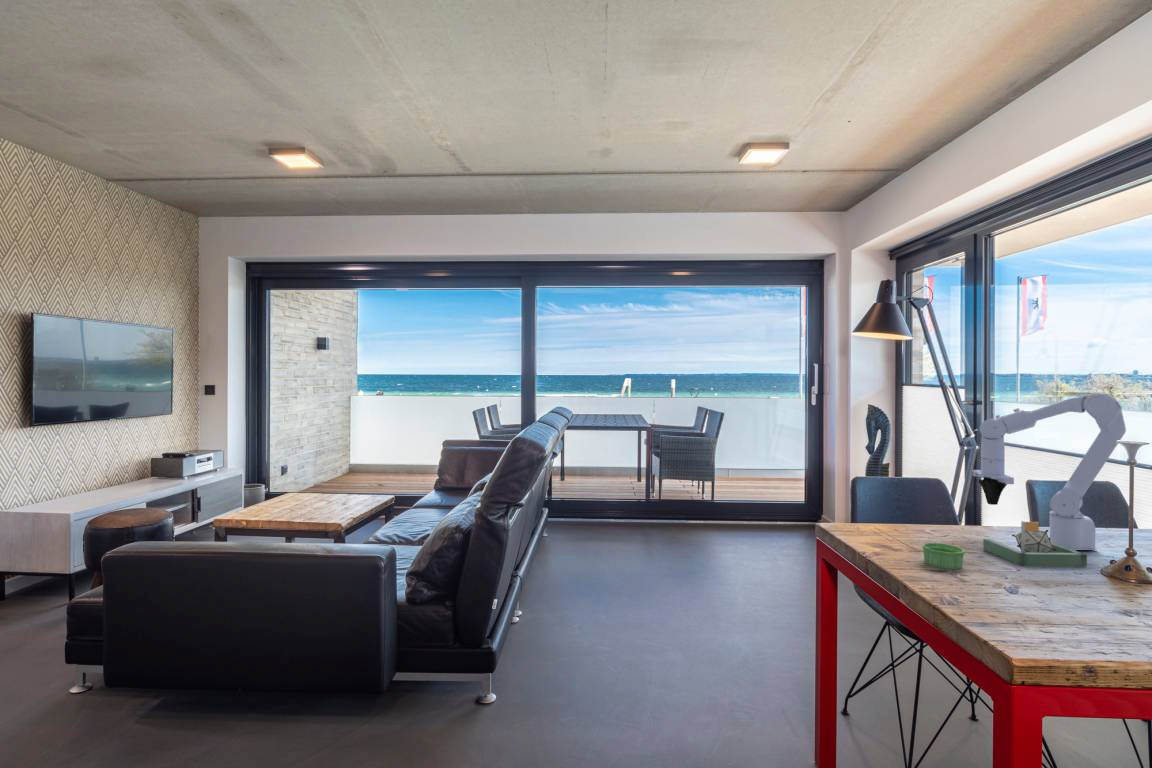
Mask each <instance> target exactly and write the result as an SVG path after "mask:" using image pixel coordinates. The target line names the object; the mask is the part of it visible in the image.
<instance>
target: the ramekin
mask: <svg viewBox="0 0 1152 768" xmlns="http://www.w3.org/2000/svg"><path fill="white" fill-rule="evenodd" d="M921 548H922V549H923V561H924V562H925V564H926V565H929V566H931V567H935V568H939V569H943V568H944V570H959V568H960V569H962V567H963V562H964V561H963V560H964V555H965V549H964V548H962V547H959V546H957V545H953V544H949V543H948V544H947V543H942V542H924V543H922V547H921Z"/></svg>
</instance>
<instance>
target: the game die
mask: <svg viewBox="0 0 1152 768" xmlns="http://www.w3.org/2000/svg"><path fill="white" fill-rule="evenodd" d="M1048 532H1049V529H1046V530H1041V529H1039V531H1025V552H1032V553H1047V552H1049V551H1051V550H1055V551H1057V549H1054V548H1053V546H1052V544H1051V542H1050V539H1051V538H1050V536H1049V535H1048ZM1011 536H1012V537H1014V538H1015V539H1016V542H1017V546H1016V547H1017V548H1019V549H1020V550H1021V532H1019V533H1018V534H1011Z"/></svg>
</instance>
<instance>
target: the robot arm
mask: <svg viewBox="0 0 1152 768" xmlns="http://www.w3.org/2000/svg"><path fill="white" fill-rule="evenodd" d="M1067 413H1078V414H1083V413H1087V414H1088V415H1089V416H1090V417H1092V418H1093V419H1094V420H1095V423H1096V425H1097V426H1098V429H1099V430H1100V431H1099V433H1098V435H1097V436H1095V437H1096V438H1095V439H1094V441H1093V442H1092V443H1091V445H1090V447H1089V448H1088V450H1087V451H1086V453H1085V454H1084V456H1083V458H1082V459H1081V461H1080V462H1079V463H1078V465H1077V467H1076V468H1075V470H1074V471H1073V473H1072V474H1071V476H1070V477H1069V479H1068V480H1067V481H1066V482H1065V485H1064V486H1063V488H1062V489H1060V490H1058V491H1057V492H1056V493H1054V495H1052V497H1051V498H1050V500H1049V507H1050V508H1051V510H1050V511H1049V538H1051V539H1050V542H1052V543H1054V544H1057V545H1060V546H1063V547H1066V548H1069V549H1072V550H1098V548H1096V525H1095V522H1094V521H1093V519H1092V518H1091V517H1089V516H1087V515H1084V514H1083V513H1082V512H1081V511H1080V509H1081V508H1082V507H1083V505H1084V500H1083V498H1084V495H1086V492H1087V491H1088V489H1089V488H1090V487H1091V486H1092V483H1093V482H1094V481H1095V479H1096V477H1097V476H1098V474H1099V473H1100V472H1101V470H1102V468H1103V467H1104V465H1105V464H1106V462H1107V461H1108V460H1109V458H1110V456H1112V453H1113V452H1114V451H1115V449H1116V447H1117V445H1118V444H1119V443H1116V441H1117V440H1120V441H1121V440H1122V438H1123V437H1124V435H1125V434H1126V432H1127V428H1126V424H1125V423H1126V422H1125V419H1124V416H1123V415H1124V414H1123V410H1122V406H1121V405H1120V403H1119V402H1118V400H1117V398H1115V396H1113V395H1112V394H1110V393H1107V392H1093V393H1091V394H1086V395H1081V396H1076V397H1069V398H1067V399H1063V400H1060V401H1057V402H1055V403H1051V404H1049V405H1048V404H1047V405H1046V406H1043V407H1040V408H1037V409H1034V410H1029V409H1027V408H1021V409H1020V408H1015V409H1013V411H1012V412H1009V413H1006V414H1002V415H1000V414H998V415H995V418H987V419H986V420H983V421H982V422H981V423H980V425H979V432H980V434H981V443H980V469H973V470H972V476H973V477H978V478H982V479H978V483H979V485H980V486H981V489H982V490H983V493H984V496H985V499H986V502H987V504H988V505H990V506H992V505H993V506H995V505H998V503H999V500H1000V497H1001V495H1002V492H1003V490H1004V489H1005V487H1007V485H1014V484H1015V478H1014V477H1013V476H1010V475H1007V474H1005V465H1006V464H1005V461H1006V460H1005V457H1006V456H1005V450H1006V449H1005V446H1006V444H1005V437H1004V436H1005V435H1006V434H1008V435H1011V434H1015V433H1019V432H1021V431H1024V430H1027V429H1028V430H1029V429H1031V428H1034V427H1035V425H1036V423H1037V422H1038V421H1041V420H1046V419H1048V418H1053V417H1055V416H1058V415H1059V416H1060V415H1062V414H1067ZM1098 551H1099V550H1098Z"/></svg>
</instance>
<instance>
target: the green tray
mask: <svg viewBox="0 0 1152 768" xmlns="http://www.w3.org/2000/svg"><path fill="white" fill-rule="evenodd" d="M1020 522H1021V524H1020V525H1021V527H1020V528H1021V531H1020V533H1021V549H1020V550H1019V549H1016V548H1013V547H1011V546H1008V545H1006V544H1002V543H1000V542H997V541H996V540H993V539H990V538H983V541H982V545H983V546H982V549H984V550H983V551H985V550H986V552H987V551H988V553H990V552H991V553H990V554H992V553H993V555H995V556H997V555H998V556H997V557H999V556H1000V558H1001V559H1002V558H1003V559H1005V560H1006V559H1007V560H1006V561H1008V562H1009V561H1010V562H1011V561H1012V562H1011V563H1013V562H1014V564H1016V563H1017V564H1016V565H1018V564H1019V566H1020V567H1066V566H1087V567H1088V555H1087V554H1086V553H1084V552H1082V551H1075V550H1072V549H1069V548H1066V547H1063V546H1060V545H1057V544H1054V543H1052V542H1051V544H1052V546H1053V548H1054V549H1057V551H1055V550H1051V551H1049V552H1047V553H1032V552H1025V531H1039V530H1040V529H1039V528H1040V525H1039V521H1024V520H1022V521H1020Z"/></svg>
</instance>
